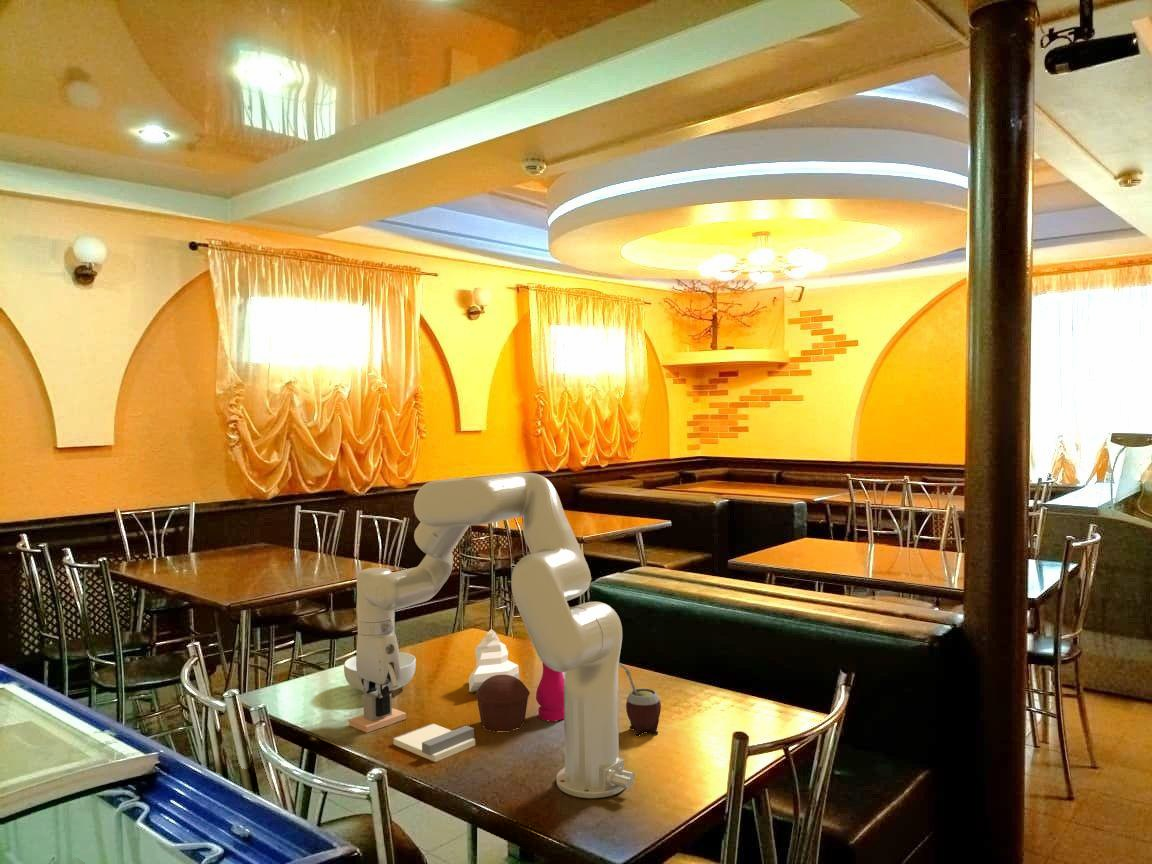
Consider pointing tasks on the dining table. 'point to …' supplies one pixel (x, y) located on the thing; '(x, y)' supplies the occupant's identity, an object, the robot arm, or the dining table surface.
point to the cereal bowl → (405, 676)
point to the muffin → (502, 703)
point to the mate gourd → (642, 708)
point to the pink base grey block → (370, 719)
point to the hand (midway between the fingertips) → (377, 712)
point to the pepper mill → (551, 695)
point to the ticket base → (427, 735)
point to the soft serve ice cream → (491, 661)
